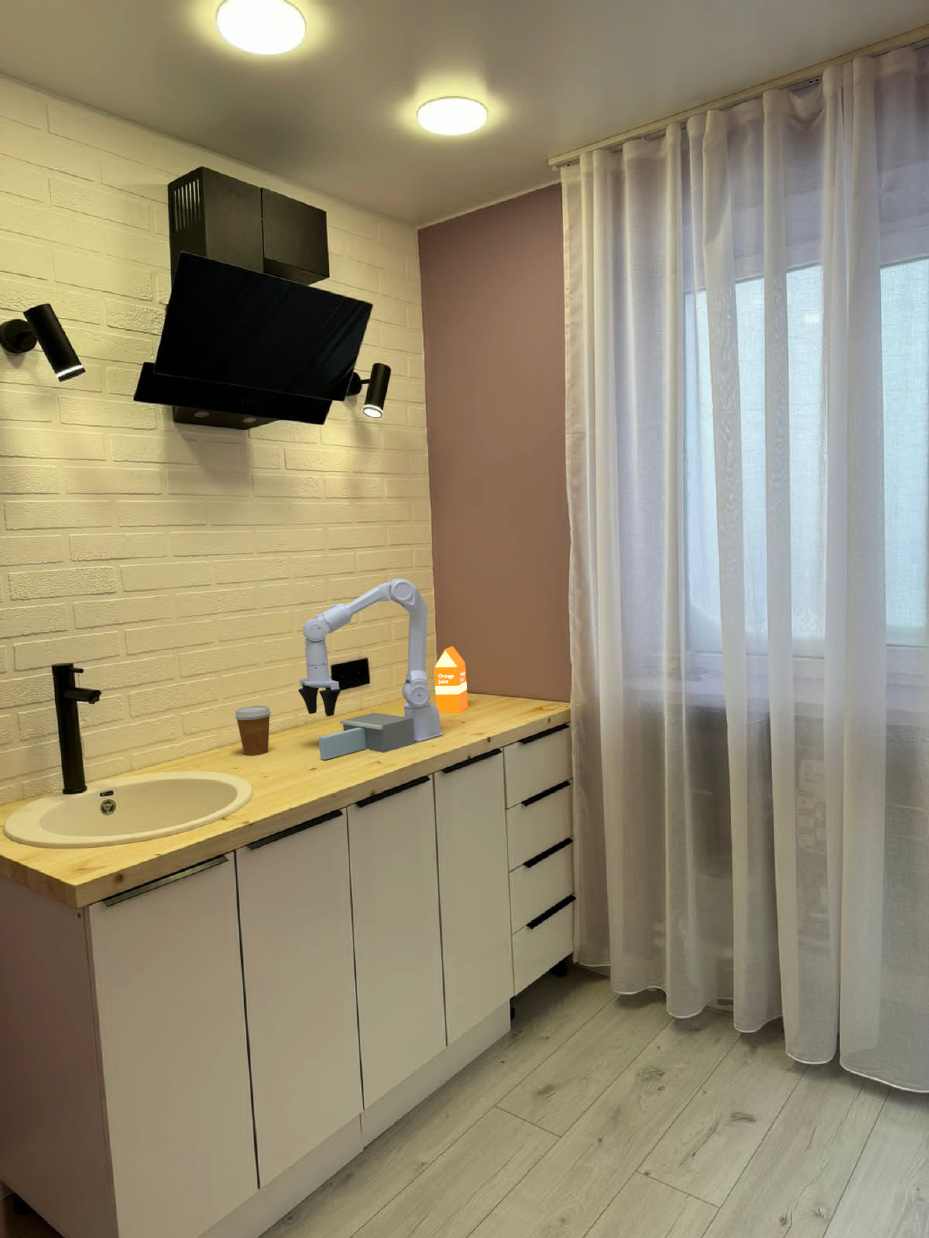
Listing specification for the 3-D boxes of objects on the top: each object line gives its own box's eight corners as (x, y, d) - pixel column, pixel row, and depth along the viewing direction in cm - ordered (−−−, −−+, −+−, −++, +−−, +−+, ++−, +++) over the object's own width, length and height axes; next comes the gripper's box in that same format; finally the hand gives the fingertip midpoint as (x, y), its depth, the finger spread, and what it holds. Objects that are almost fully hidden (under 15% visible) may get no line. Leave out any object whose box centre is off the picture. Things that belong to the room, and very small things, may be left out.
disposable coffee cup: (238, 758, 229) (234, 713, 228) (237, 751, 238) (234, 707, 237) (275, 754, 231) (271, 709, 230) (273, 746, 241) (269, 704, 240)
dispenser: (375, 737, 244) (373, 712, 244) (415, 743, 233) (413, 717, 233) (342, 746, 236) (340, 720, 235) (382, 753, 225) (380, 726, 224)
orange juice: (436, 713, 274) (432, 650, 272) (445, 707, 282) (441, 646, 281) (460, 713, 272) (456, 649, 270) (468, 707, 280) (464, 645, 278)
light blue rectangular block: (362, 746, 232) (361, 726, 231) (367, 747, 231) (366, 727, 230) (320, 758, 222) (318, 737, 221) (325, 759, 220) (323, 738, 220)
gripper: (288, 665, 234) (292, 714, 235) (321, 667, 224) (326, 719, 225) (310, 661, 239) (313, 710, 240) (343, 663, 229) (347, 714, 230)
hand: (321, 714), depth 233 cm, fingers open, 7 cm apart
